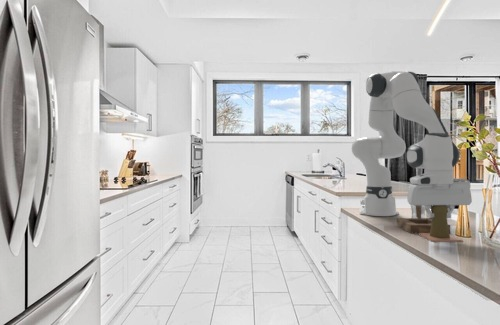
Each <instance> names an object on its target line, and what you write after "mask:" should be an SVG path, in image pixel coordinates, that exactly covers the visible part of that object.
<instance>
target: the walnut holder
mask: <svg viewBox="0 0 500 325" xmlns="http://www.w3.org/2000/svg"><path fill="white" fill-rule="evenodd" d="M431 223H432V218H428V217H426V218H412V217H410V218H409V217H407V218H405V217H404V218H400V217H398V218H396V226H398V227H399V228H400V229H402V228H403V230H404V231H406V232H408V233H409V232H410V233H409V234H419V233H430V230H431ZM448 229H449V234H451V225H450V224H448Z"/></svg>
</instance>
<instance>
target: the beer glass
mask: <svg viewBox="0 0 500 325" xmlns="http://www.w3.org/2000/svg"><path fill="white" fill-rule="evenodd" d="M410 209H411V218H427V217H426V213H427V211H426V210H425V208H424V205H418V206H414V205H410Z"/></svg>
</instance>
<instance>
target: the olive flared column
mask: <svg viewBox="0 0 500 325" xmlns="http://www.w3.org/2000/svg"><path fill="white" fill-rule="evenodd" d="M430 211H431V212H432V213H434V218H432V223H431V230H430V236H432V237H436V238H449V237H450V235H449V234H450V233H449V229H448V225H449V224H448V218H447V217H446V214H447V213H448V207H447V205H431V209H430Z"/></svg>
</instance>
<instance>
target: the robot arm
mask: <svg viewBox="0 0 500 325" xmlns="http://www.w3.org/2000/svg"><path fill="white" fill-rule="evenodd" d="M419 81H420V80H419V77H418V75H417V73H415V72H414V71H409V70H406V71H399V70H398V71H396V70H395V71H387V72H376V73H372V74H370V75H369V76H368V77H367V80H366V83H365V90H366V93H367V94H368V96H370V102H369V111H368V126H369V127H370V128H371V129H372V130H374V131H377V132H378V133H379V134H378V136H366V137H361V138H356V139H355V140H354V141H353V142H352V145H351V152H352V155H353V156H354V157H355V158H356V159H358V160H359V161H360V162H361V163H362V164H363V166H364V169H365V171H366V183H367V185H366V189H365V193H366V194H365V195H364V197H363V199H362V200H360V202H359V203H360V206H362V207H360V208H358V210H359V211H358V212H359V215H366V216H374V217H392V216H396V215H400V211H397V206H396V205H397V204H396V198H395V196H393V187H392V179H391V178H392V177H391V176H392V174H391V170H390V169H389V168H388V167H386V166H385V165H383V164H381V163H380V162H379V159H380V160H382V159H385V160H386V159H395V158H399V157H402V156H403V155H404V154H405V159H406V162H407V164H408V165H409V166H410V167H411V168H413V169H424V172H423V173H421V174H418V175H415V176H412V177H410V178H409V182H410V185H409V186H408V188H407V203H408V204H409V205H410V206H411V205H414V206H418V205H424V208H425V210H426V213H427V218H434V213H432V212H431V207H432V206H433V205H445V206H447V208H448V213H447V214H446V217H447V219H451V218H452V213H453V211H454V210H455V206H470V205H471V204H472V201H473V200H472V199H473V198H472V193H471V182H470V180H469V179H467V178H464V177H462V178H455V176H454V167H455V166H456V165H457V164H458V162H459V160H460V158H461V155H460V150H459V148H458V146H457V145H456V144H455V143H454V142H453V140H452V137H451V135H450V134H449V133H448V131H447V129H446V127H445V125H444V124H443V121H442V120H441V117H440V115H439V114H438V112H437V111H436V109H435V108H433V107H432V106H431V105H430V104H429V103H428V102H427V101H426V100H425V98H424V96H423V94H422V91H421V88H420V84H419ZM394 111H395V112H394ZM394 113H396V115H397V116H399V117H400V118H402V119H405V120H407V121H411V122H414V123H417V124H419V125H421V126H423V127H425V129H426V131H427V133H426V134H425V135H424V137H423V139H422V140H419V141H418V142H416V143H413V144H411V145H410V146H409V147H408V148H407V147H406V146H407V145H406V142H405V140H404V139H403V138H402V137H400V136H399V135H398V133H397V132H396V130H395V126H394ZM405 152H406V153H405Z"/></svg>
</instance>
